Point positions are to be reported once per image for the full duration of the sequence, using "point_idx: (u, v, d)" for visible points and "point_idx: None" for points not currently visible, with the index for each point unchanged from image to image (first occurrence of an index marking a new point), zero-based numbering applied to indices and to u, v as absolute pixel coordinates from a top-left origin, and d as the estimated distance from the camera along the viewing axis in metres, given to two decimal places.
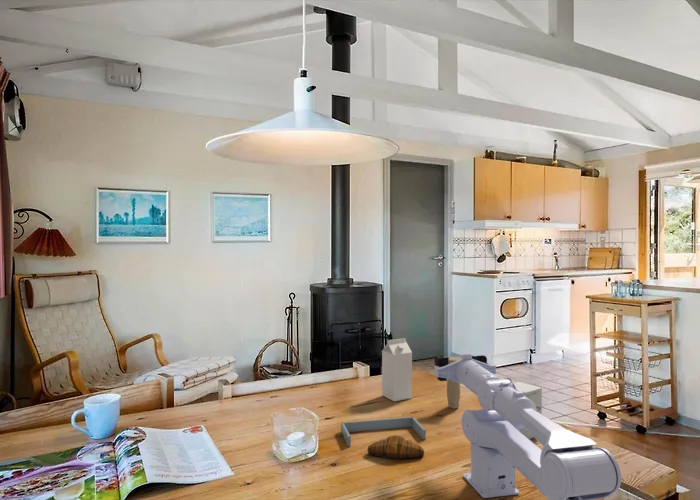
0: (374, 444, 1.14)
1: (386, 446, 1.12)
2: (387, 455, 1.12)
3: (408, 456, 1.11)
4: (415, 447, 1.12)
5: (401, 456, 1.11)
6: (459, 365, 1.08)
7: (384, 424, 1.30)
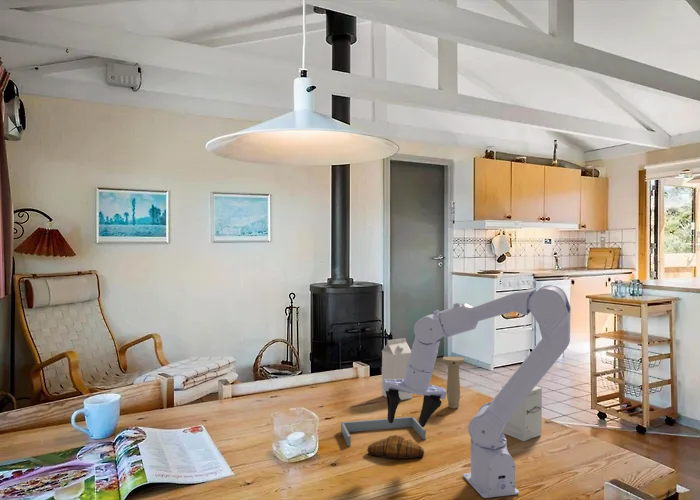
0: (374, 444, 1.14)
1: (386, 446, 1.12)
2: (387, 455, 1.12)
3: (408, 456, 1.11)
4: (415, 447, 1.12)
5: (401, 456, 1.11)
6: None
7: (384, 424, 1.30)
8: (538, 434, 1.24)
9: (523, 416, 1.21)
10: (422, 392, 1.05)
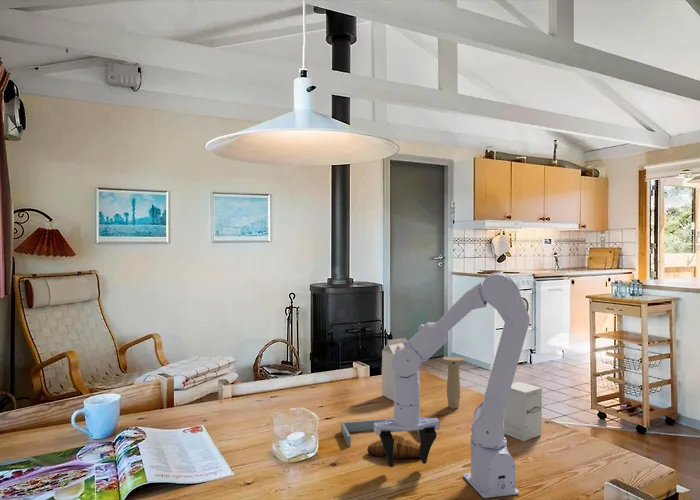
0: (374, 444, 1.14)
1: None
2: None
3: (408, 456, 1.11)
4: (415, 446, 1.12)
5: (401, 456, 1.11)
6: None
7: None
8: (538, 434, 1.24)
9: (523, 416, 1.21)
10: (414, 427, 1.03)
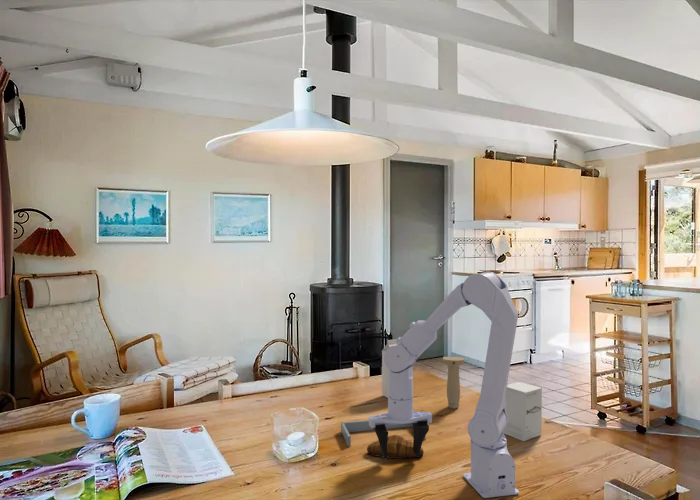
0: (373, 444, 1.14)
1: None
2: None
3: (407, 456, 1.12)
4: None
5: (400, 456, 1.11)
6: None
7: None
8: (538, 434, 1.24)
9: (523, 416, 1.21)
10: (407, 420, 1.07)
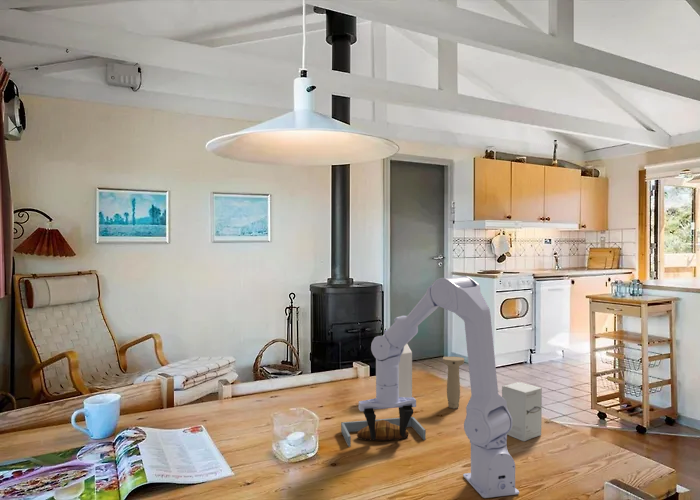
0: (363, 429, 1.23)
1: (376, 430, 1.22)
2: (376, 438, 1.22)
3: (395, 438, 1.22)
4: None
5: (389, 438, 1.22)
6: None
7: None
8: (538, 434, 1.24)
9: (523, 416, 1.21)
10: (393, 404, 1.18)
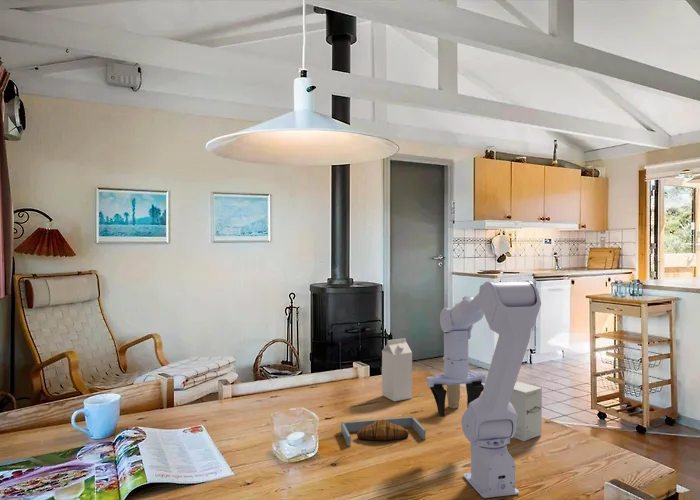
0: (363, 429, 1.23)
1: (376, 430, 1.22)
2: (376, 438, 1.22)
3: (395, 437, 1.22)
4: (401, 428, 1.23)
5: (389, 438, 1.22)
6: None
7: None
8: (538, 434, 1.24)
9: (523, 416, 1.21)
10: (464, 379, 1.13)
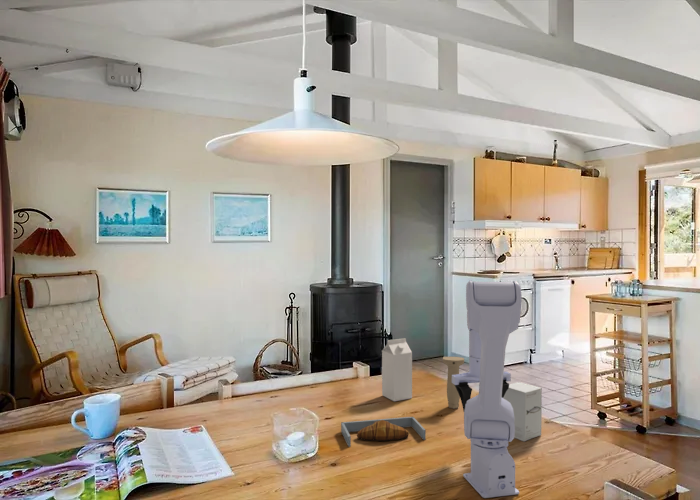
0: (363, 430, 1.23)
1: (375, 431, 1.22)
2: (376, 438, 1.21)
3: (395, 438, 1.22)
4: (401, 429, 1.23)
5: (389, 438, 1.22)
6: None
7: None
8: (538, 434, 1.24)
9: (523, 416, 1.21)
10: None
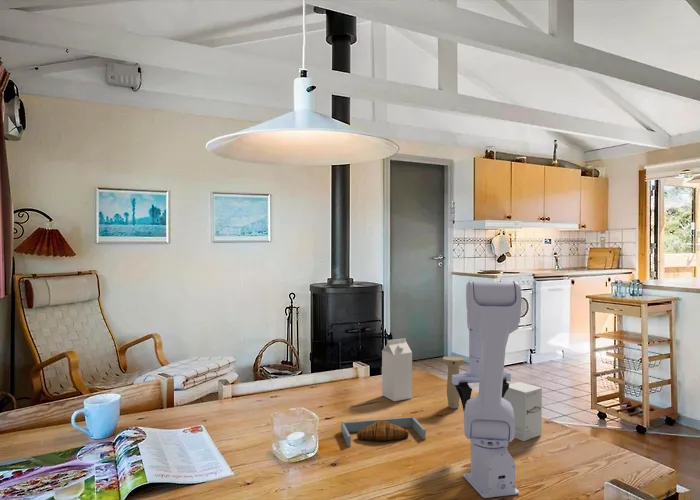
0: (363, 430, 1.23)
1: (375, 431, 1.22)
2: (376, 439, 1.21)
3: (395, 438, 1.22)
4: (400, 429, 1.23)
5: (389, 438, 1.22)
6: None
7: None
8: (538, 434, 1.24)
9: (523, 416, 1.21)
10: None
